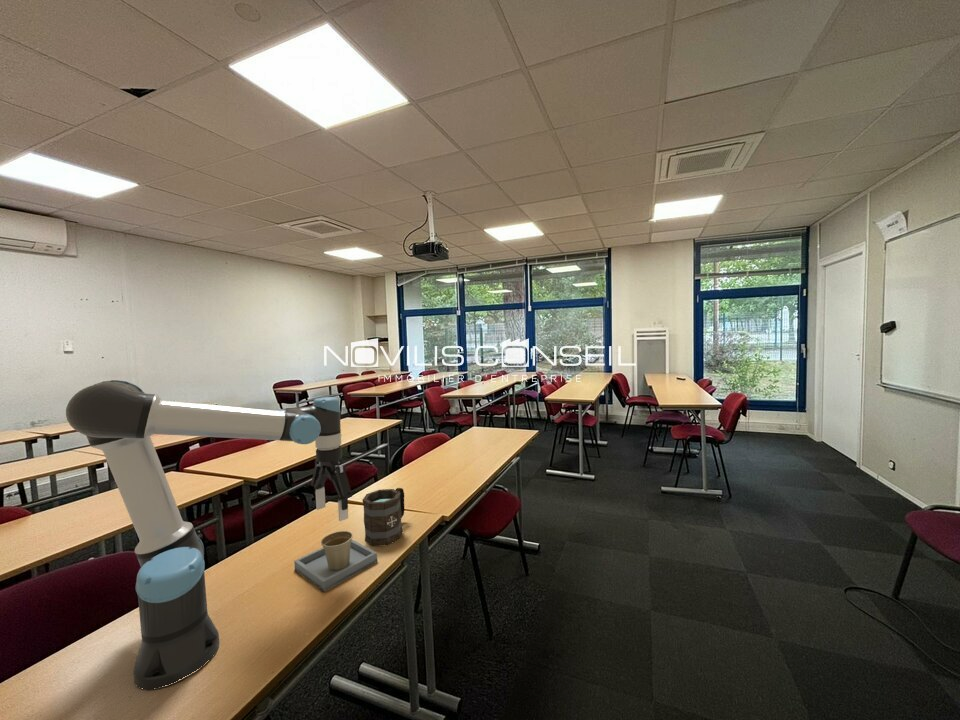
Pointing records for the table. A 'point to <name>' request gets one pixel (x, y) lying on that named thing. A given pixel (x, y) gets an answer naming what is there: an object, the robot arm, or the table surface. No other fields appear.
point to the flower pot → (337, 549)
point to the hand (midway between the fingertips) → (331, 513)
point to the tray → (325, 579)
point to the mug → (383, 516)
